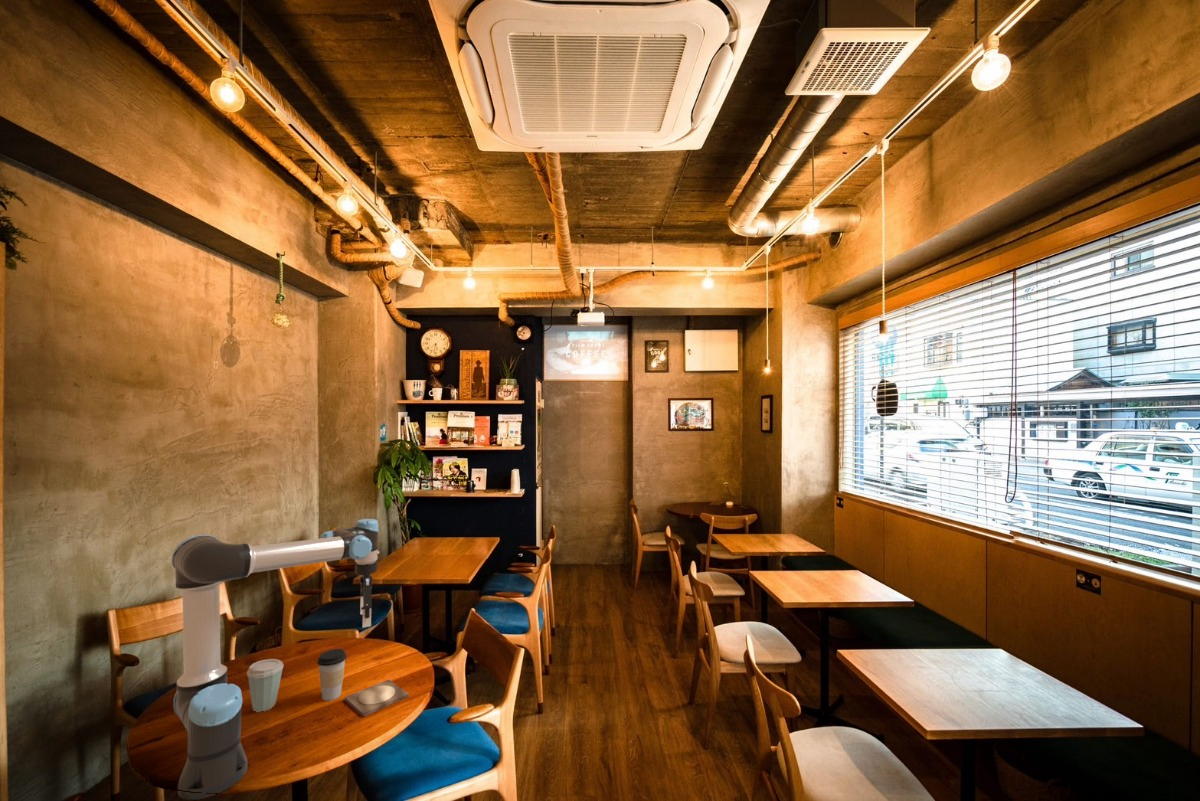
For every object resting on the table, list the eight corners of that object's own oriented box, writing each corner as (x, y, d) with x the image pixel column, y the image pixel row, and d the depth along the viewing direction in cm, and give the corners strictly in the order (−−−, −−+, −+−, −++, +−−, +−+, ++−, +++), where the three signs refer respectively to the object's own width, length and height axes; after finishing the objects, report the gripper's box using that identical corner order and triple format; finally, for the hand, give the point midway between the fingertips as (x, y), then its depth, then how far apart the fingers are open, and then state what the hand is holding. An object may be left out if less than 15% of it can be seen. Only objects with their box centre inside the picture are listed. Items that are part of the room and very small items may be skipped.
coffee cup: (333, 705, 173) (334, 661, 174) (310, 702, 175) (311, 658, 176) (351, 690, 182) (352, 649, 183) (329, 688, 184) (330, 646, 185)
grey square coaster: (363, 717, 166) (363, 712, 166) (344, 700, 176) (344, 696, 176) (408, 697, 178) (408, 692, 178) (388, 682, 188) (388, 678, 188)
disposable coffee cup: (273, 695, 179) (274, 653, 180) (289, 704, 173) (290, 660, 174) (239, 710, 170) (241, 665, 171) (255, 720, 164) (256, 673, 165)
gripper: (380, 568, 175) (379, 630, 174) (374, 552, 197) (373, 607, 196) (357, 572, 171) (355, 634, 170) (353, 555, 193) (352, 610, 192)
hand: (365, 620), depth 183 cm, fingers open, 13 cm apart
